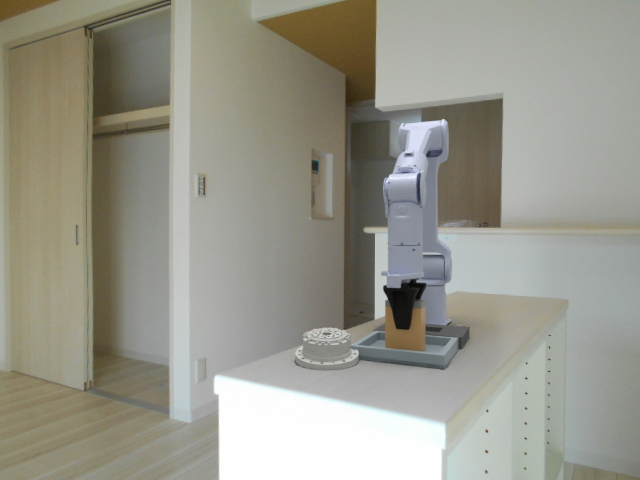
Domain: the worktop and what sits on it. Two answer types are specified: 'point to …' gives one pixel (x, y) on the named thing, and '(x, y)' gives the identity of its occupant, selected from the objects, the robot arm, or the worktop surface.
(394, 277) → the robot arm
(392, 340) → the orange two-tone block
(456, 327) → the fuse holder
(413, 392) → the worktop surface
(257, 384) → the worktop surface
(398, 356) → the parts tray
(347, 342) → the mechanical component
